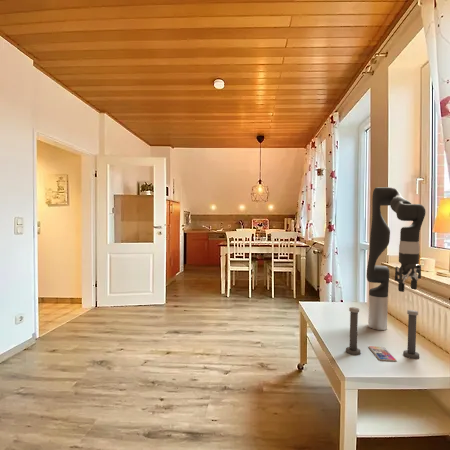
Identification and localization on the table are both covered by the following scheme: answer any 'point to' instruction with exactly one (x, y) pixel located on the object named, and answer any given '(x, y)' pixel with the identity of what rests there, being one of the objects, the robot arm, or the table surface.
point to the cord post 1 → (353, 332)
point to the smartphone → (382, 354)
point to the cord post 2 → (411, 335)
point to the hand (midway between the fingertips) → (407, 290)
